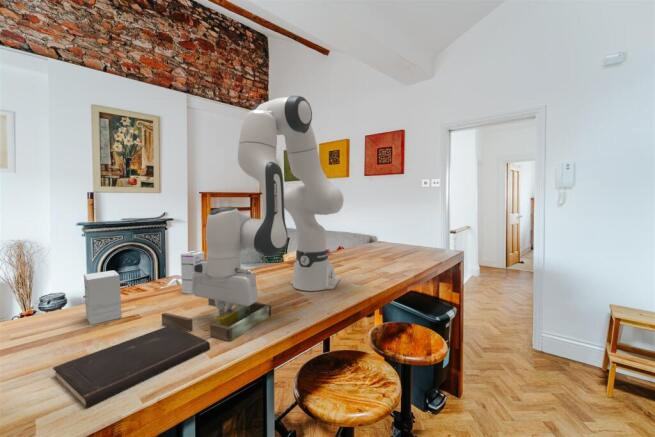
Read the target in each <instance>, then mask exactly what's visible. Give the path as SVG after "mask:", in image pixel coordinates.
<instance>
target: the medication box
mask: <svg viewBox="0 0 655 437" xmlns="http://www.w3.org/2000/svg"><path fill="white" fill-rule="evenodd" d="M251 314H252V313H251V305H250V306H244V305H239V304H237V306H234V307H232V308H231V310H229V311H227V312H225V313H223V314H221V315H218V316H215V318H214V319H215V320H214V321H215V322H214V324H218V325H222V326H227V327H230V326H232V325H233V324H235V323H237V322H239V321H240V320H242V319H244V318H246V317H247V316H249V315H251Z"/></svg>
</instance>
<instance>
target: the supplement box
mask: <svg viewBox="0 0 655 437" xmlns="http://www.w3.org/2000/svg"><path fill="white" fill-rule="evenodd" d="M83 284H84V297H85V298H84V299H85V300H84V301H85V317H86V319H87V322H88V323H90V324H89V326H93V325H96V324H99V323H100V324H101V323H106V322H108V321H113V320H117V319H121V318H123V317H122V316H123V315H122V296H121V295H122V294H121V276H120V274H119V273H118V272H117V271H116V270H107V271H100V272H92V273H86V274H83Z"/></svg>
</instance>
